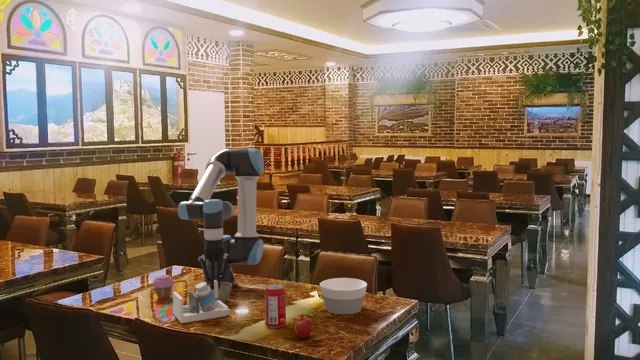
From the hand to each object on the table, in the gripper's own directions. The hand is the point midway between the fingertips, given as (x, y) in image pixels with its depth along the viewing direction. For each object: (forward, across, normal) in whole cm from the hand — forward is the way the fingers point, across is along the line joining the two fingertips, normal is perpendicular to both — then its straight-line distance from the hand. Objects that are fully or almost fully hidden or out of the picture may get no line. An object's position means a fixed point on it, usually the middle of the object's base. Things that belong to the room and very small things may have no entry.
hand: (215, 297), depth 230 cm
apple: (+7, -19, +42) cm, 47 cm away
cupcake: (+6, +14, -33) cm, 36 cm away
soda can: (+7, -15, +26) cm, 31 cm away
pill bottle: (+5, +2, -1) cm, 6 cm away
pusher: (+6, +10, -1) cm, 12 cm away
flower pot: (+6, -6, -15) cm, 17 cm away
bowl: (+7, -47, +21) cm, 52 cm away
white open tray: (+6, +6, -1) cm, 9 cm away
